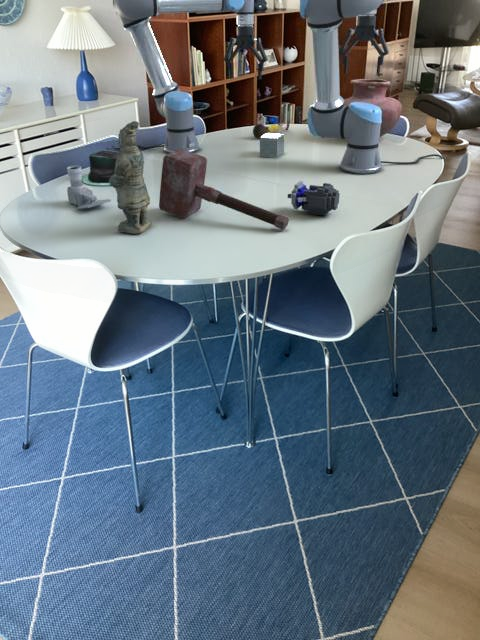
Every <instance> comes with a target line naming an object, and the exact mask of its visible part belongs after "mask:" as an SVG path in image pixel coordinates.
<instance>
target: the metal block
mask: <svg viewBox="0 0 480 640" xmlns="http://www.w3.org/2000/svg"><path fill="white" fill-rule="evenodd" d="M284 154H285V134H284V133H275V132H268V133H267V134H265V135H263V136H261V137H260V138H259V157H260V158H269V159H279V157H281V156H283V155H284Z"/></svg>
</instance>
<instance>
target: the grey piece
mask: <svg viewBox="0 0 480 640" xmlns="http://www.w3.org/2000/svg"><path fill="white" fill-rule="evenodd" d="M66 171H67V176H68V177H69V182H70V186H67V189H66V193H67V200H68V202H69V203H70V204H71V205H75V206H77V207H76V209H77V210H79V209H80V210H81V209H90V208H93V207H96V206H100V205H103V204H106V203H109V202H111V201H112V199H109V198H107V199H98V198H97V197H98V196H97V195H94V193H93V190H92V189H90V188H87V187H84V184H83V183H84V182H83V181H82V178H83V177H82V175H83V172H82V166H80V165H69V166H67V168H66Z"/></svg>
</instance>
